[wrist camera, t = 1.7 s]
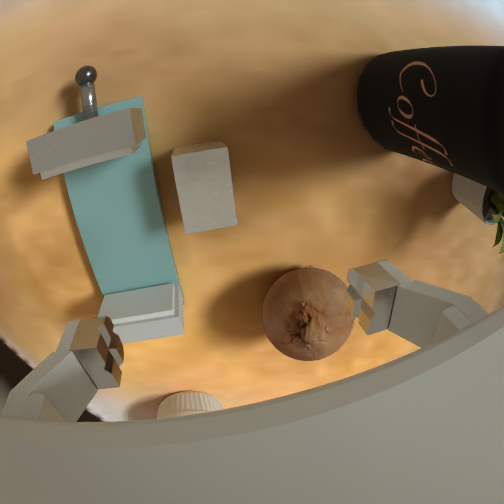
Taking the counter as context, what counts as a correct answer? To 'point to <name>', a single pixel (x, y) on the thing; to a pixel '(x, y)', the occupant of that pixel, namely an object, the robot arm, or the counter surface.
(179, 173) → the block
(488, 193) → the house plant
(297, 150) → the counter surface
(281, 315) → the onion
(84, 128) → the jaw
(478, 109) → the coffee jar
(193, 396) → the ramekin
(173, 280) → the vise
